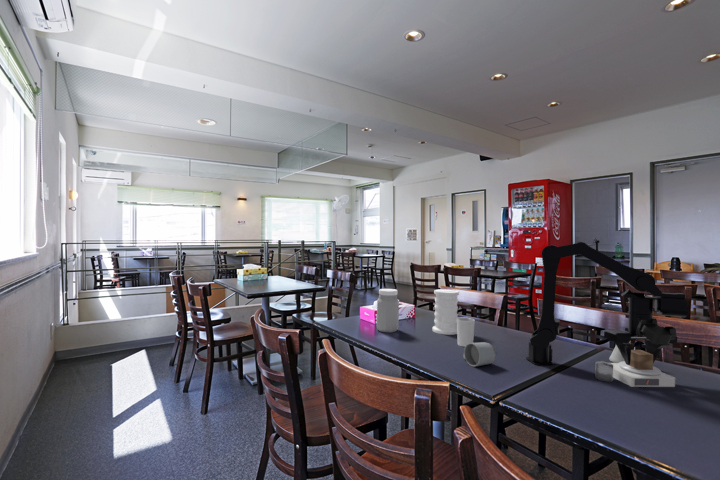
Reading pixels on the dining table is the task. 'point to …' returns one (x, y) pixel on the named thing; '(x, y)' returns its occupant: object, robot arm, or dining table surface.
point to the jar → (387, 310)
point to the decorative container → (445, 311)
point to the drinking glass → (465, 330)
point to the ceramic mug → (479, 354)
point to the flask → (616, 356)
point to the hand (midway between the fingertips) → (639, 364)
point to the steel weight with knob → (604, 371)
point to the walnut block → (641, 360)
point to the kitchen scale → (641, 376)
